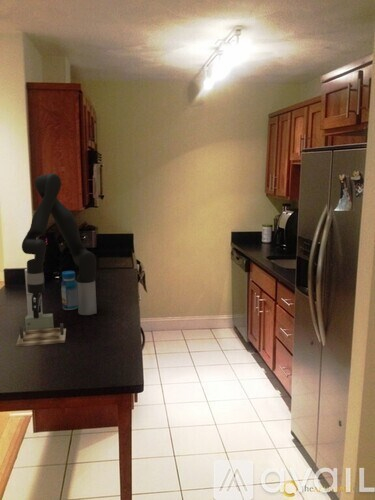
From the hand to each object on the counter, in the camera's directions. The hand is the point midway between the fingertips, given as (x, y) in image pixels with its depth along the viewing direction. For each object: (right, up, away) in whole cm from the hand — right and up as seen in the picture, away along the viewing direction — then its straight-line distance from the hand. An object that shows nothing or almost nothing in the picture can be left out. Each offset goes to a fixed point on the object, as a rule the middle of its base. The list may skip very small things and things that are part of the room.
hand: (37, 315), depth 205 cm
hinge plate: (+5, -9, -9) cm, 14 cm away
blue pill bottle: (+7, -1, +33) cm, 34 cm away
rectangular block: (+1, -7, +2) cm, 7 cm away
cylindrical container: (-8, -4, +20) cm, 21 cm away
